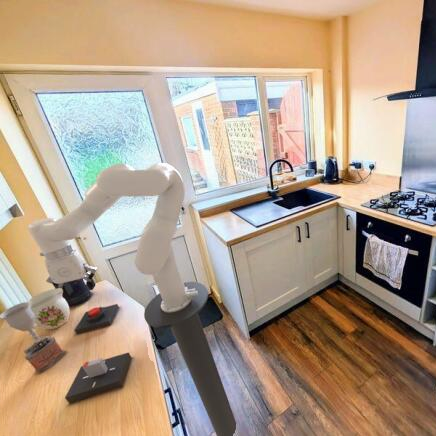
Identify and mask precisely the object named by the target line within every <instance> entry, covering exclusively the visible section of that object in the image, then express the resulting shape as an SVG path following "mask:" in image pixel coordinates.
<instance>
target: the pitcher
mask: <svg viewBox="0 0 436 436" xmlns="http://www.w3.org/2000/svg"><path fill="white" fill-rule="evenodd" d="M62 294H63V290H62V288H57V289H55V288H52V289H49V290H45V291H43V292H41V293H38V294H36V295H35V296H33V297H31V298H30V299H28V300H27V301H26V302H28V303H29V308H30V309H31V310H32V312H33V313H34V317H35V322H34V327H33V328H32V330H35V329H38V328H42V329H45V330H54V329H57V328H59V327H61V326H63V325H65V324H66V323H67V322H68V320H69V319H70V314H71V313H70V307H69V306H68V303H67V302H66V300H65V299H64V298H63V297H62Z"/></svg>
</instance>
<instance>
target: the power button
mask: <svg viewBox="0 0 436 436" xmlns="http://www.w3.org/2000/svg"><path fill="white" fill-rule="evenodd" d="M88 311H89V312H88ZM88 311H87V312H88V314H89V316H90V317H94V316H96V315H98V314H99V313H100V312H101V311H100V309H99V307H98V306H97V307H94V308H91V309H90V310H88Z"/></svg>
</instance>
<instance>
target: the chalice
mask: <svg viewBox="0 0 436 436" xmlns="http://www.w3.org/2000/svg"><path fill="white" fill-rule="evenodd" d="M0 318H1V319H2V320H5V322H6V323H7V324H8V326H9V327H11V328H13V329H15V330H18V331H20V332H28V333H29V335H30V336H31V339H34V342H33V344H34V343H35V341H37V340H40V339H42V338H43V337H39V334H38V333H37V334H36V331H35V330H34V329H32V328H33V327H34V325H35V323H34V322H35V317H34V313H33V312H32V310H31V309H30V308H29V303H28V302H27V301H25V302H20V303H18V304H15V305H12V306H11V307H9V308H7V309H5V310H4V311H3V312H2V313H0Z"/></svg>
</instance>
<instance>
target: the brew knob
mask: <svg viewBox="0 0 436 436" xmlns="http://www.w3.org/2000/svg"><path fill="white" fill-rule="evenodd" d="M103 360H104V359H102V357H100V358H97V359H92V360H90V361H86V362H84V363H83V365H82V366H83V369H84V370H85V372H86V373H87V375H88V376H89V378H92V377H95V376H98V375H101V374H105V373H106V372H107V370H108V368H107V366H106V365H105V363H104V361H103Z"/></svg>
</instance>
